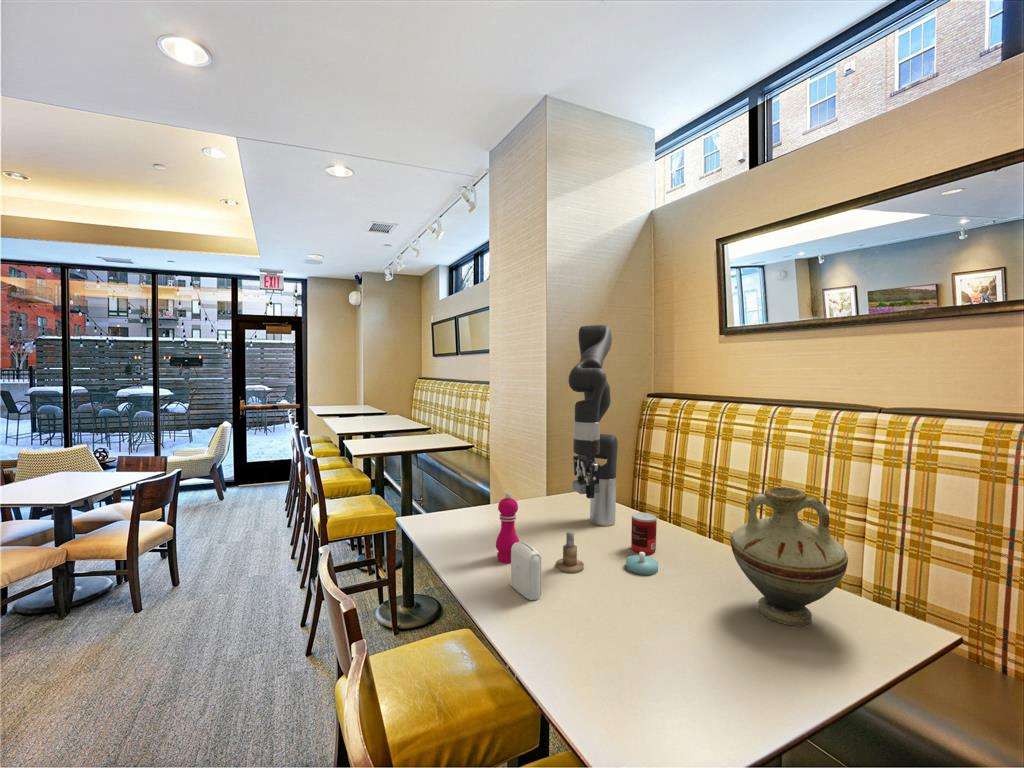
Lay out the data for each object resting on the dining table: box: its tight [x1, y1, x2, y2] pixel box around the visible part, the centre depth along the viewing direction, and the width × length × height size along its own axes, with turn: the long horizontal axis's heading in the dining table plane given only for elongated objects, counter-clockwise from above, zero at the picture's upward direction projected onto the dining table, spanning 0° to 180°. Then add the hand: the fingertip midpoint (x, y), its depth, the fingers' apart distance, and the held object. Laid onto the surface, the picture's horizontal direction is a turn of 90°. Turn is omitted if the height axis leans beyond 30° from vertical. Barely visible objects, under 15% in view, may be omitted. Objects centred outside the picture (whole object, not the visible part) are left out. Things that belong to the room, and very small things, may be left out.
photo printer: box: [510, 541, 542, 601], centre depth 119 cm, size 10×4×12 cm, turn 29°
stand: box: [555, 531, 585, 574], centre depth 134 cm, size 8×8×10 cm
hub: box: [625, 552, 659, 576], centre depth 134 cm, size 9×9×4 cm
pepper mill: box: [495, 492, 520, 564], centre depth 139 cm, size 7×7×20 cm
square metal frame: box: [571, 479, 599, 495], centre depth 134 cm, size 6×6×2 cm
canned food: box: [630, 512, 658, 556], centre depth 148 cm, size 8×8×11 cm
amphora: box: [729, 487, 849, 627], centre depth 109 cm, size 24×24×30 cm
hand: (585, 494), depth 134 cm, fingers closed on square metal frame, 5 cm apart
